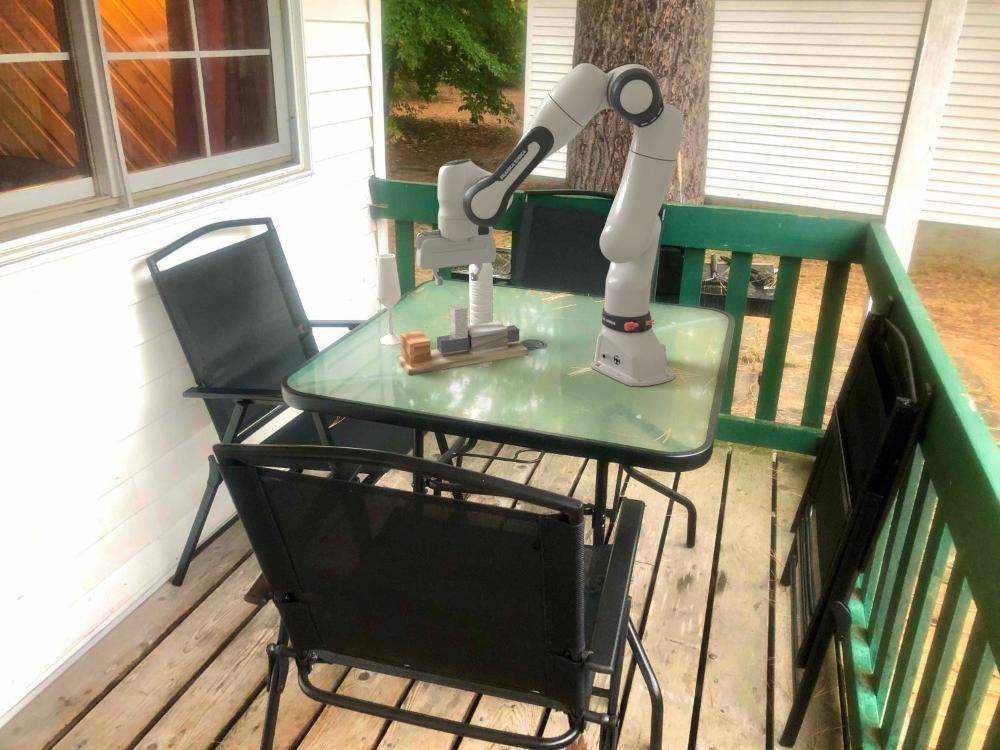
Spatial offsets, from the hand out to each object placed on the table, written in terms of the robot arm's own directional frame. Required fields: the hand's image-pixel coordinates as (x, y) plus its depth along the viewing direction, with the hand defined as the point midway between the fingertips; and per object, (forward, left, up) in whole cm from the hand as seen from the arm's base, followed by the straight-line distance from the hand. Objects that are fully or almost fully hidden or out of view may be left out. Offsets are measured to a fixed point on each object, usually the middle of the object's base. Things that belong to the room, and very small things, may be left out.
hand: (456, 282), depth 194 cm
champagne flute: (+20, +12, -21) cm, 31 cm away
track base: (0, -1, -21) cm, 21 cm away
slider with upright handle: (0, -6, -18) cm, 19 cm away
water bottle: (+13, -13, -21) cm, 28 cm away
